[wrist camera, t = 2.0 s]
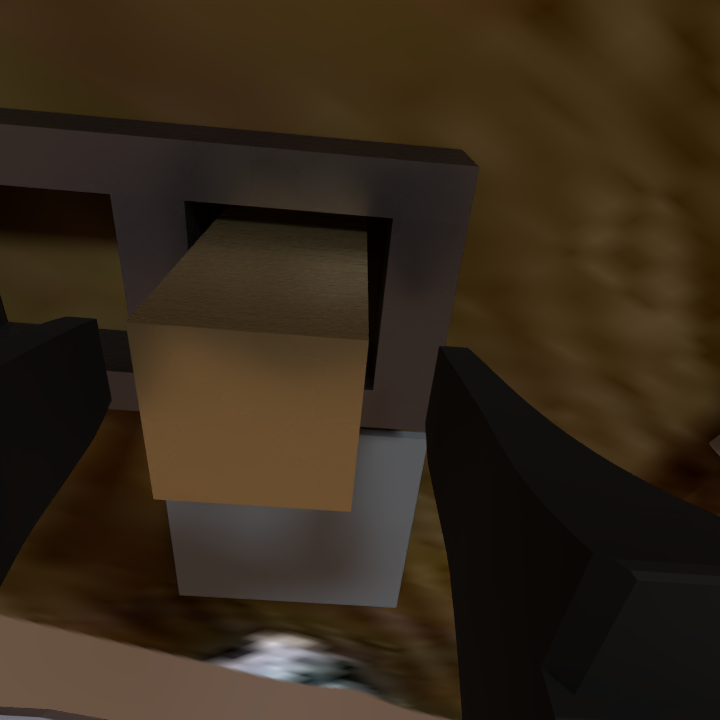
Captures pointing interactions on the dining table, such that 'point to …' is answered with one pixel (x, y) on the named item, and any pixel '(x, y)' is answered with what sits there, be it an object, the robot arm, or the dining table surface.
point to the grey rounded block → (716, 444)
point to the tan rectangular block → (257, 362)
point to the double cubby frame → (271, 190)
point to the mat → (308, 536)
